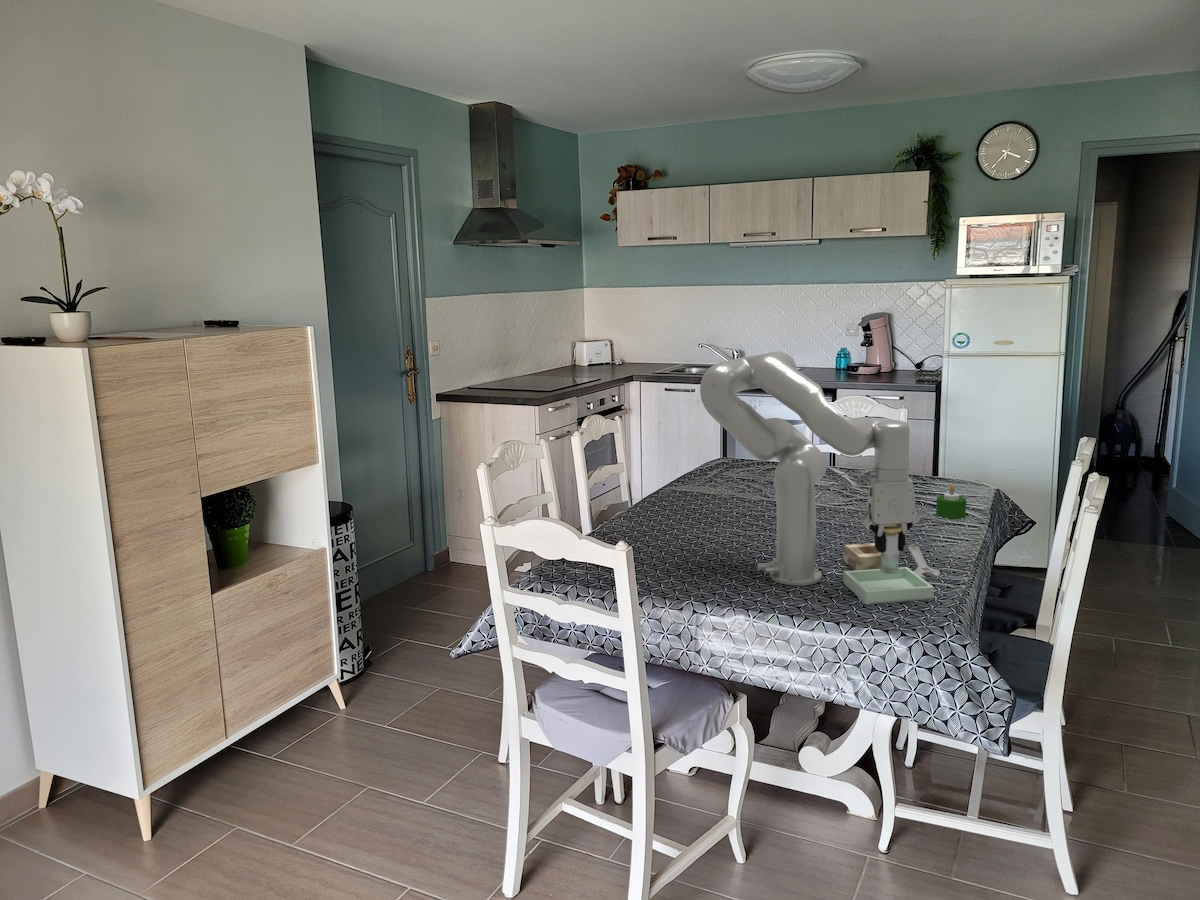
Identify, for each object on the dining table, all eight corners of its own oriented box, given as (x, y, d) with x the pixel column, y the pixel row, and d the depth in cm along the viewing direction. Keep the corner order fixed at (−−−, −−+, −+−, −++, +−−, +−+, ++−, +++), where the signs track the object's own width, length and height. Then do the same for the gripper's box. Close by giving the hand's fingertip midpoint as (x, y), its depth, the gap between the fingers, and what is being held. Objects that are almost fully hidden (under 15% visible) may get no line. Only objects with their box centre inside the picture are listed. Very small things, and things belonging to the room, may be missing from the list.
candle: (937, 519, 263) (938, 487, 261) (934, 511, 271) (936, 480, 269) (967, 520, 261) (968, 488, 259) (963, 512, 269) (965, 481, 266)
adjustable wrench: (906, 550, 238) (907, 544, 237) (932, 552, 236) (932, 545, 236) (913, 582, 214) (914, 575, 214) (942, 583, 212) (942, 576, 212)
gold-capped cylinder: (883, 575, 204) (884, 529, 202) (874, 568, 209) (875, 523, 207) (904, 573, 205) (906, 528, 202) (895, 566, 210) (896, 522, 207)
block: (859, 574, 220) (859, 557, 219) (844, 561, 229) (844, 545, 228) (897, 571, 220) (898, 554, 220) (881, 558, 230) (881, 542, 229)
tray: (866, 604, 200) (866, 592, 200) (843, 583, 214) (843, 571, 214) (933, 599, 202) (933, 587, 201) (906, 578, 216) (906, 567, 215)
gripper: (862, 480, 198) (861, 558, 201) (933, 475, 199) (931, 552, 203) (850, 473, 205) (849, 548, 209) (918, 468, 207) (916, 542, 210)
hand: (889, 549), depth 206 cm, fingers closed on gold-capped cylinder, 4 cm apart
